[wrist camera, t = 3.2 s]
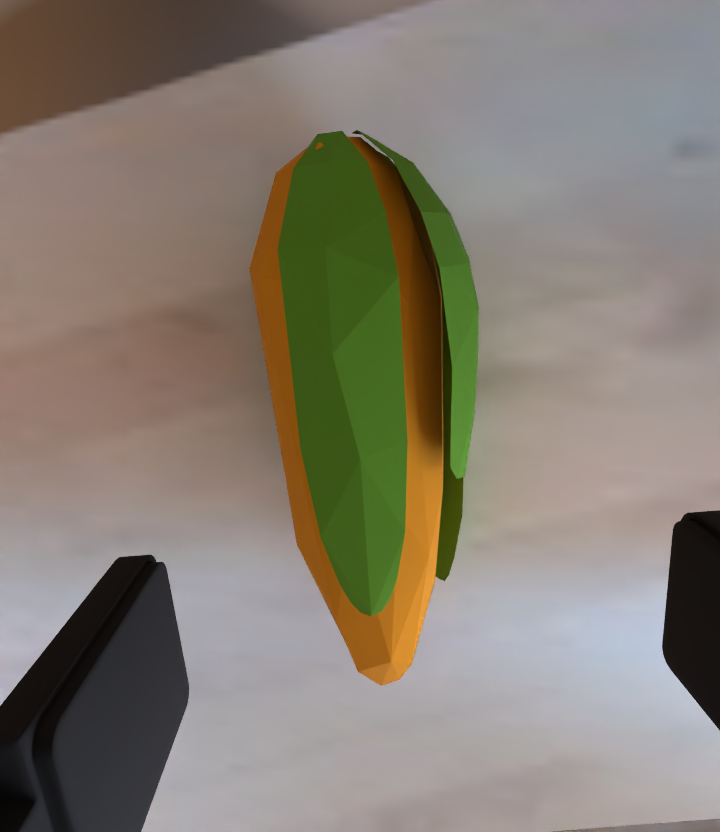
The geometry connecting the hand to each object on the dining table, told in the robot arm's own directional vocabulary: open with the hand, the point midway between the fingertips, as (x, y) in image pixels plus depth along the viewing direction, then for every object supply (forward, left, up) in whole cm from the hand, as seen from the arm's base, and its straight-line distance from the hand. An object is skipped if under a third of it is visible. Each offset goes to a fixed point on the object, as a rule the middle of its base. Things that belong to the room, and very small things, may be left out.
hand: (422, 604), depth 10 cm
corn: (0, 0, -13) cm, 13 cm away
